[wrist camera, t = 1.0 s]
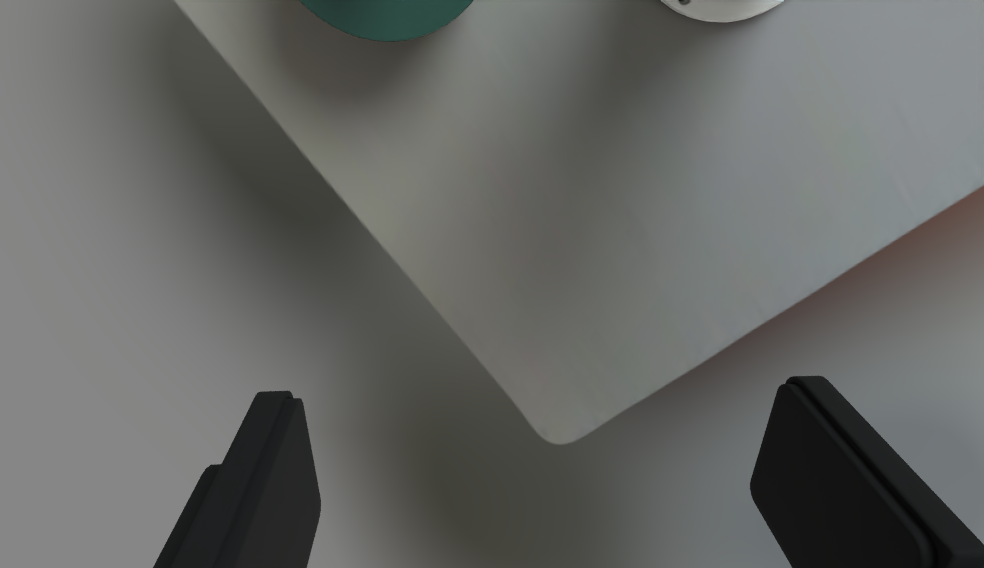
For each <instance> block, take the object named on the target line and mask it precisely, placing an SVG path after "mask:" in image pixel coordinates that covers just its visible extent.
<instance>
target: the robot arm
mask: <svg viewBox="0 0 984 568" xmlns="http://www.w3.org/2000/svg"><path fill="white" fill-rule="evenodd" d="M661 1H662V2H663V3H664V4H666V5H667V6H669V7H670V8H671V9H673V10H674V11H676V12H678V13H680V14H682V15H685V16H687V17H690V18H692V19H697V20H702V21H707V22H732V21H738V20H745V19H748V18H750V17H753V16H756V15H759V14H761V13H764V12H766V11H768V10H770V9H771V8H773V7H775V6H777V5H779V4H780V3H782V2H783V1H784V0H682V1H679V0H661ZM750 490H751V495H752V498H753V500H754V502H755V504H756V506H757V508H758V509H759V511H760V513H761V514H762V516H763V518H764V520H765V521H766V523H767V525H768V526H769V528H770V530H771V532H772V533H773V535H774V537H775V539H776V540H777V542H778V544H779V545H780V547H781V549H782V551H783V552H784V554H785V555H786V557H787V559H788V561H789V562H790V564H791V566H792V568H984V545H983V543H982V542H981V541H980V540H979V539H978V538H977V537H976V536H975V535H974V534H973V533H972V532H971V531H970V530H969V529H968V528H967V527H966V526H965V524H964V523H963V522H962V521H961V520H960V519H959V518H958V517H957V516H956V515H955V514H954V513H953V512H952V511H951V510H950V509H949V508H948V507H947V506H946V504H945V503H944V502H943V501H942V500H941V499H940V498H939V497H938V496H937V495H936V494H935V493H934V492H933V491H932V490H931V489H930V488H929V486H927V484H926V483H925V482H924V481H923V480H922V479H921V478H920V477H919V476H918V475H917V474H916V473H915V472H914V471H913V470H912V469H911V468H910V467H909V465H907V463H906V462H905V461H904V460H903V459H902V458H901V457H900V456H899V455H898V454H897V453H896V452H895V451H894V450H893V449H892V447H890V446H889V444H888V443H887V442H886V441H885V440H884V439H883V438H882V437H881V436H880V435H879V434H878V433H877V432H876V431H875V430H874V429H873V427H871V425H870V424H869V423H868V422H867V421H866V420H865V419H864V418H863V417H862V416H861V415H860V414H859V413H858V412H857V411H856V410H855V408H854V407H853V406H852V405H851V404H850V403H849V402H848V401H847V400H846V399H845V398H844V397H843V396H842V395H841V394H840V393H839V392H838V391H837V390H836V389H835V387H833V385H832V384H831V383H830V382H829V381H828V380H827V379H825V378H824V377H822V376H794V377H790V378H789V379H788V380H787V381H786V383H785V384H783V385H781V386H780V387H779V388H778V391H777V394H776V397H775V400H774V404H773V408H772V411H771V414H770V418H769V421H768V424H767V428H766V431H765V434H764V438H763V441H762V444H761V448H760V451H759V454H758V458H757V461H756V464H755V468H754V471H753V475H752V478H751V482H750ZM320 511H321V499H320V493H319V488H318V482H317V476H316V472H315V466H314V460H313V455H312V450H311V444H310V439H309V433H308V428H307V422H306V417H305V411H304V406H303V402H302V400H301V399H300V398H293V395H292V393H291V392H290V391H273V392H272V391H269V392H259V393H257V395H256V396H255V398H254V400H253V402H252V404H251V406H250V408H249V410H248V412H247V414H246V416H245V418H244V420H243V422H242V424H241V426H240V428H239V430H238V432H237V434H236V436H235V438H234V440H233V442H232V444H231V447H230V448H229V450H228V452H227V455H226V456H225V458H224V460H223V463H222V464H220V465H210V466H209V467H207V468H206V469H205V471H204V472H203V474H202V475H201V477H200V479H199V481H198V483H197V485H196V487H195V489H194V491H193V492H192V495H191V497H190V498H189V500H188V502H187V504H186V506H185V508H184V510H183V512H182V513H181V515H180V517H179V519H178V521H177V523H176V525H175V527H174V529H173V531H172V532H171V534H170V536H169V538H168V540H167V542H166V544H165V546H164V548H163V550H162V552H161V553H160V555H159V557H158V559H157V561H156V563H155V565H154V567H153V568H307V564H308V560H309V556H310V552H311V548H312V544H313V541H314V537H315V533H316V529H317V525H318V522H319V517H320Z"/></svg>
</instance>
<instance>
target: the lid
mask: <svg viewBox="0 0 984 568" xmlns="http://www.w3.org/2000/svg"><path fill="white" fill-rule="evenodd" d="M299 1H300V2H301V3H302V4H303V5H304V6H305V7H307V8H308V9H309V10H310V11H311V12H313V13H314V14H315V15H316V16H317V17H319V18H320V19H322V20H323V21H325V22H327V23H328V24H330V25H331V26H333V27H335V28H337V29H339V30H341V31H343V32H345V33H348V34H351V35H354V36H357V37H360V38H364V39H369V40H374V41H387V42H394V41H406V40H410V39H415V38H419V37H422V36H425V35H427V34H430V33H432V32H435V31H436V30H438V29H440V28H442V27H444V26H445V25H447V24H448V23H450V22H451V21H452V20H454V19H455V18H456V17H458V16H459V15H460V14H461V13H462V12H463V11H464V10H465V9H466V8H467V7H468V6H469V5H470V4H471V3H472V1H473V0H299Z"/></svg>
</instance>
